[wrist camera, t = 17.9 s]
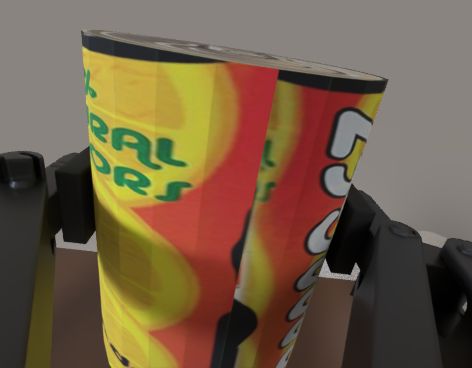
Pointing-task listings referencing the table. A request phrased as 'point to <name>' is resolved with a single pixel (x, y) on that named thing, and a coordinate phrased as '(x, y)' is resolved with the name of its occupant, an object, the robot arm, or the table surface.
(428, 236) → the table surface
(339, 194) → the beverage can
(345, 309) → the cubby
